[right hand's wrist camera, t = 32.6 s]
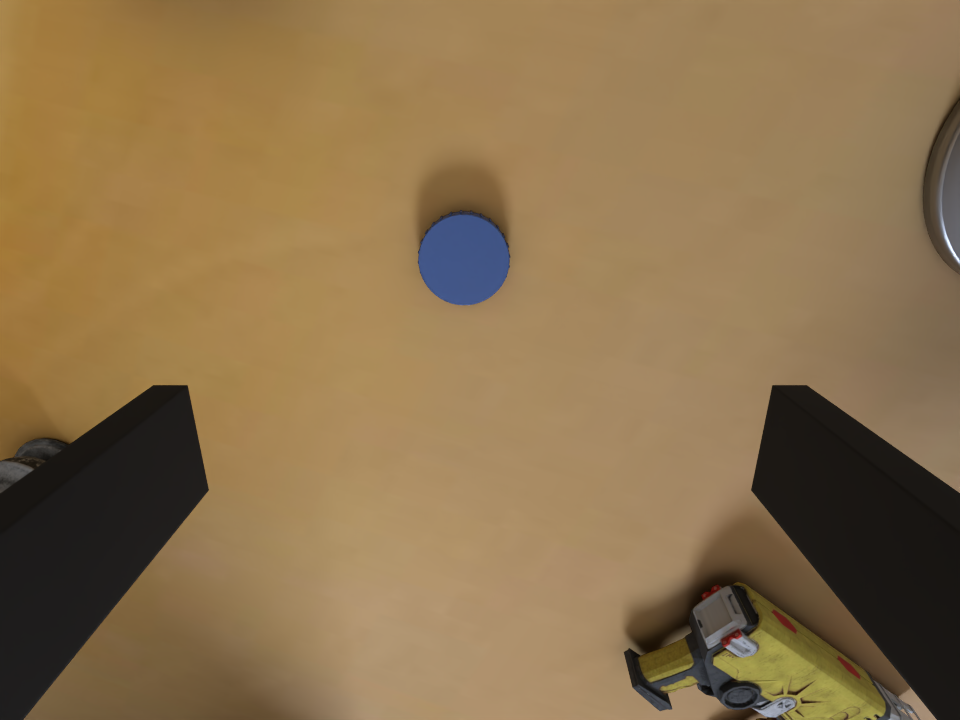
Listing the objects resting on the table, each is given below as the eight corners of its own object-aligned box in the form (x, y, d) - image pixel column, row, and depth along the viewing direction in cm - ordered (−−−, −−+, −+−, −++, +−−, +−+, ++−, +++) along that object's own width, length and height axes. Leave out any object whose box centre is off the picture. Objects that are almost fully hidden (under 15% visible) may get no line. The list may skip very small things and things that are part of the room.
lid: (420, 207, 33) (417, 210, 32) (511, 212, 34) (513, 215, 32) (419, 297, 35) (417, 304, 34) (505, 300, 36) (507, 308, 34)
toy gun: (791, 823, 50) (945, 750, 44) (602, 719, 43) (758, 619, 38) (767, 765, 54) (905, 693, 49) (592, 662, 47) (730, 565, 42)
